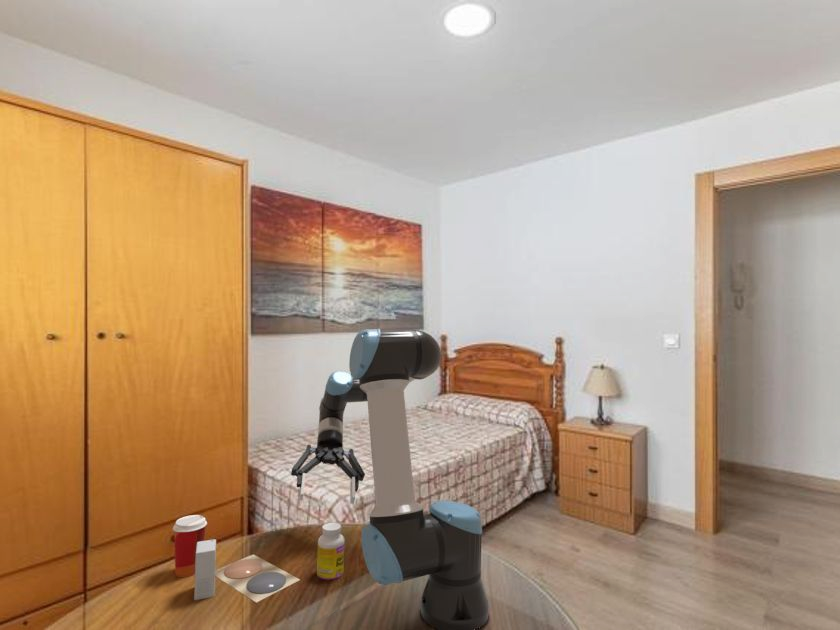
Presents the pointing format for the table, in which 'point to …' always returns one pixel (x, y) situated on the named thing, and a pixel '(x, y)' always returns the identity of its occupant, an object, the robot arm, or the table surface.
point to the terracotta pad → (243, 569)
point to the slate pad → (266, 582)
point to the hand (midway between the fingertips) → (327, 499)
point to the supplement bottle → (330, 552)
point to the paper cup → (187, 543)
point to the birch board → (242, 583)
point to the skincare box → (205, 569)
